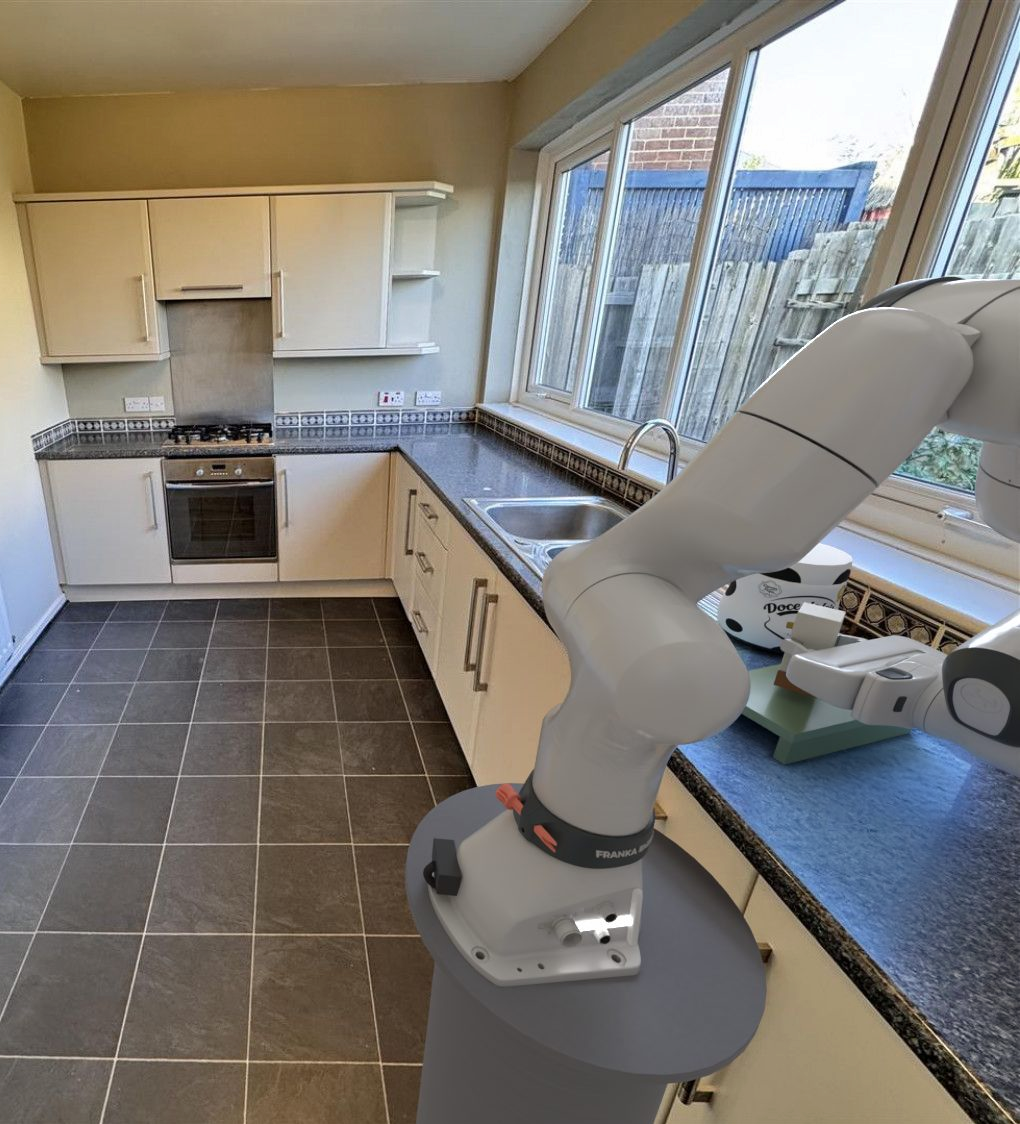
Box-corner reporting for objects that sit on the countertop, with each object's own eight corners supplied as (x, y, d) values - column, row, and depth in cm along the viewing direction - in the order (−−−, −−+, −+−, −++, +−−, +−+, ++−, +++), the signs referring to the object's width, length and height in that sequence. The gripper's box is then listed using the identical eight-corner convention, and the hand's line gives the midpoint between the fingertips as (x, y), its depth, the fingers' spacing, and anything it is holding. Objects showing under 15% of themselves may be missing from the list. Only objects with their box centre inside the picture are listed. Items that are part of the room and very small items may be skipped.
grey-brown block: (815, 698, 86) (842, 623, 82) (773, 684, 89) (796, 612, 85) (827, 671, 92) (852, 600, 88) (786, 660, 96) (809, 591, 91)
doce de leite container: (792, 672, 105) (826, 575, 98) (691, 629, 120) (715, 542, 113) (849, 650, 111) (884, 557, 105) (747, 612, 126) (772, 528, 119)
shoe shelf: (784, 764, 83) (795, 734, 82) (693, 707, 96) (700, 679, 94) (910, 733, 89) (922, 704, 87) (808, 682, 102) (818, 656, 100)
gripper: (991, 655, 76) (865, 609, 89) (871, 682, 72) (756, 629, 84) (971, 698, 79) (851, 647, 91) (854, 727, 74) (743, 669, 86)
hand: (804, 639), depth 88 cm, fingers closed on grey-brown block, 6 cm apart
